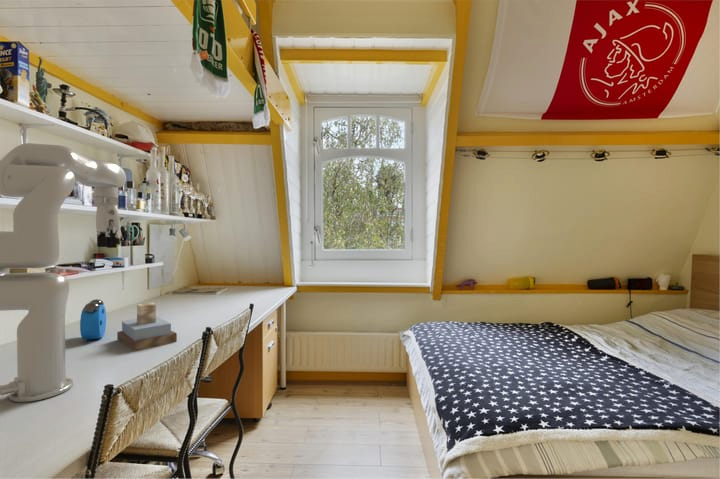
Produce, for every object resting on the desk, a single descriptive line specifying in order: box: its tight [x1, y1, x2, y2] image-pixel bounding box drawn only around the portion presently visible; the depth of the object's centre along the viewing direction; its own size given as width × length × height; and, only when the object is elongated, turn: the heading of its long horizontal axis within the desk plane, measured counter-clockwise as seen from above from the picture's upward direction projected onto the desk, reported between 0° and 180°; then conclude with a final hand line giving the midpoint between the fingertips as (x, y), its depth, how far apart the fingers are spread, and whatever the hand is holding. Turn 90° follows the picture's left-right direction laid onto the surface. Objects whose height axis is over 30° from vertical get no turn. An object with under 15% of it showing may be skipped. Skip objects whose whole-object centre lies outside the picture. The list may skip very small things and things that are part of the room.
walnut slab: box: [116, 330, 178, 352], centre depth 138 cm, size 14×19×4 cm
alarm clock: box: [79, 298, 107, 342], centre depth 140 cm, size 13×6×15 cm, turn 25°
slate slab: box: [121, 315, 172, 341], centre depth 138 cm, size 12×17×4 cm
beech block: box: [136, 302, 157, 325], centre depth 138 cm, size 5×5×7 cm
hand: (106, 247), depth 136 cm, fingers open, 9 cm apart
